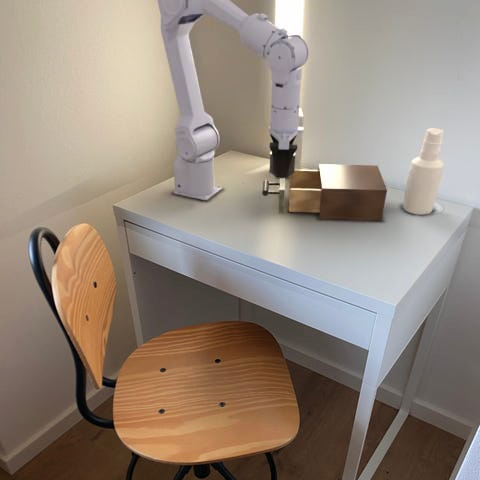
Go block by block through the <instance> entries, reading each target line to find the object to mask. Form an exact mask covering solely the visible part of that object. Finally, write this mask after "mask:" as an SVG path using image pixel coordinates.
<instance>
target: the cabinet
mask: <svg viewBox="0 0 480 480" xmlns="http://www.w3.org/2000/svg"><path fill="white" fill-rule="evenodd" d="M317 170H319V173H320V181H321V188H322V193H321V203H320V212H319V213H318V212H317V214H318V220H322V221H323V220H325V221H327V220H329V221H357V222H383V221H382V219H383V214H384V210H385V204H386V200H387V199H386V198H387V193H388V189H387V187H386V186H387V185H386V183H385V181H384V178H383V177H382V173H381V171H380V167H379V165H374V164H373V165H370V164H369V165H367V164H331V163H329V164H328V163H318V169H317Z"/></svg>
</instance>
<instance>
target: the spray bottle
mask: <svg viewBox="0 0 480 480" xmlns="http://www.w3.org/2000/svg"><path fill="white" fill-rule="evenodd" d="M444 132H445V131H444V130H443V129H441V128H438V127H430V128H427V129H426V131H425V137H424V139H423V141H422V144H421V149H420V153H419V156H417V157H415V158H413V159H412V161H411V164H410V168H409V172H408V179H407V182H406V186H405V187H406V188H405V192H404V197H403V201H402V209H403V210H404V211H406V212H407V213H408V214H409V213H410V214H414V215H418V216H419V215H423V216H424V215H428V214H430V213H432V212H433V210H434V207H435V203H436V198H437V195H438V190H439V186H440V182H441V178H442V175H443V171H444V166H445V164H444V162H443V160H441V159H440V155H441V150H442V145H443V136H444Z"/></svg>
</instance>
